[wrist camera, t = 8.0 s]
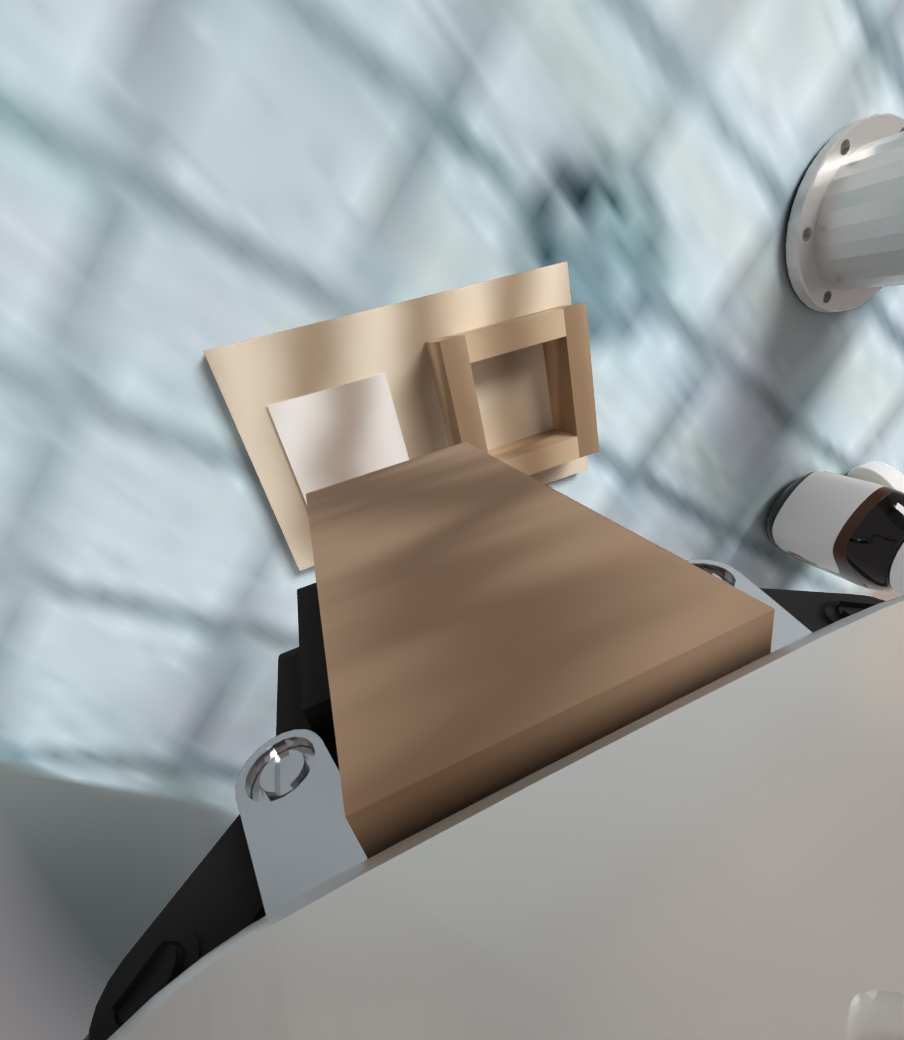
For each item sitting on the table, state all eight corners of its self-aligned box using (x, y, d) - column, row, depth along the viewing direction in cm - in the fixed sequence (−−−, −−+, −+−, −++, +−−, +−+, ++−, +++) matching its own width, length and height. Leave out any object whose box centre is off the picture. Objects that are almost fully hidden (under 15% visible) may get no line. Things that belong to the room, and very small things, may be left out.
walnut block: (465, 441, 14) (774, 608, 5) (495, 575, 16) (750, 857, 7) (305, 493, 13) (345, 815, 4) (360, 629, 15) (463, 1036, 6)
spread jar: (744, 520, 43) (887, 576, 33) (823, 420, 42) (998, 445, 31) (797, 571, 48) (934, 633, 38) (869, 484, 47) (1030, 523, 37)
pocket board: (558, 264, 29) (595, 253, 26) (580, 466, 35) (612, 479, 31) (206, 350, 25) (191, 351, 21) (299, 564, 31) (300, 593, 27)
